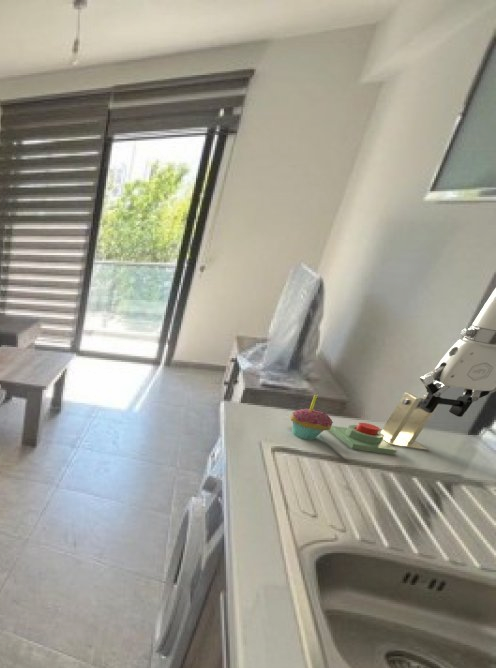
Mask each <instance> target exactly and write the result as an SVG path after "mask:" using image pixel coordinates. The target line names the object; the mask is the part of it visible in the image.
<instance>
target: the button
mask: <svg viewBox="0 0 496 668" xmlns="http://www.w3.org/2000/svg"><path fill="white" fill-rule="evenodd" d="M357 425H358V426H357V428H356V430H357V431H359V432H361V433H364V434H368V435H374V436H375V435H376V434H377V433H378V431H379V429H380V427H378V426H377V425H374V424H372V423H367V422H359V423H358V424H357Z"/></svg>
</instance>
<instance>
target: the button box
mask: <svg viewBox="0 0 496 668" xmlns="http://www.w3.org/2000/svg"><path fill="white" fill-rule="evenodd" d="M357 426H358V424H350V425H348V426H347V427H344V426H336V425H332V426H331V428H330V430H329V432H330V433H332V434H334V436H336V437H337V438H338V439H339V440H340V441H342V442H343V443H344V444H345V445H347V446H348V447H349V448H350V449H353V450H360V451H367V452H373V453H379V454H385V455H393V456H394V455H395V454H396V452H397V449H396V448H394V447H393V446H392V445H390V444H388V443H387V442H385V441H384V440H383V438H384V434H382V433H381V432H379V431H378V433H377V434H376V435H375V436H374V435H368V434H364V433H361V432H359V431H357V430H356V428H357Z"/></svg>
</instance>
